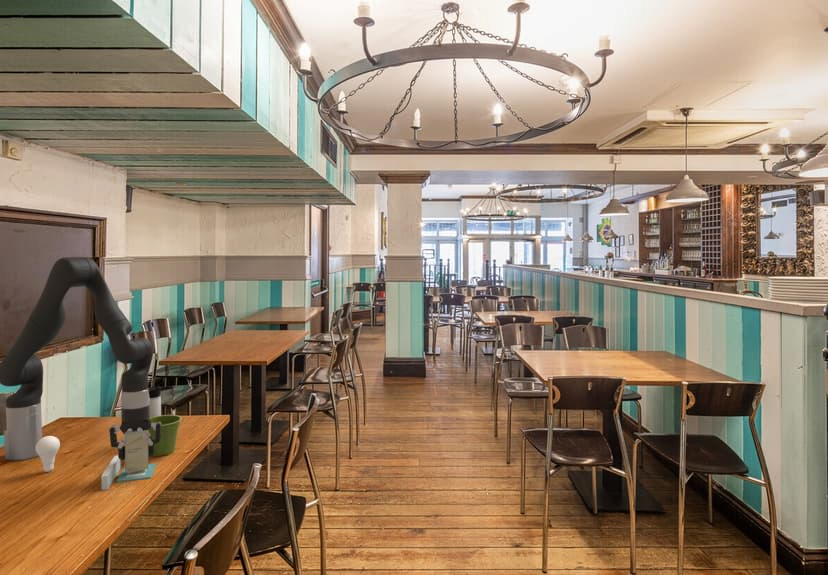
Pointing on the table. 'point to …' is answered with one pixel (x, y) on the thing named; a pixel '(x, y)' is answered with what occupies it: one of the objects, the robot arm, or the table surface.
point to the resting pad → (137, 474)
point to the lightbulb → (47, 451)
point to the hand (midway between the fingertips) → (136, 458)
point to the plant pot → (165, 434)
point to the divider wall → (110, 473)
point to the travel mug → (155, 401)
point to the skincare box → (136, 451)
